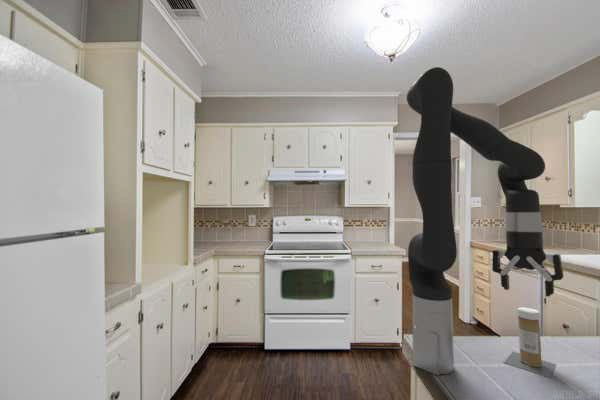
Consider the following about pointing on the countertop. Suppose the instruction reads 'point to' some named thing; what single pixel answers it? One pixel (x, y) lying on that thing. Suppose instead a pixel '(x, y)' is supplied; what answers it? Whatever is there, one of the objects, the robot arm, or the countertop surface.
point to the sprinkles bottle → (529, 336)
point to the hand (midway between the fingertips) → (526, 292)
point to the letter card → (542, 370)
